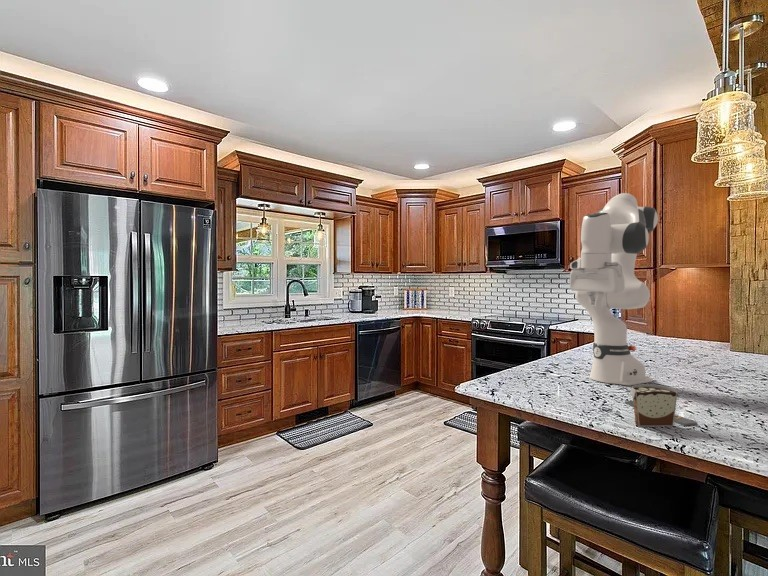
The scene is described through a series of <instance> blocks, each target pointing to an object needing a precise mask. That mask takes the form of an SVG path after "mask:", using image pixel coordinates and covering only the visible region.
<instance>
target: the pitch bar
mask: <svg viewBox="0 0 768 576" xmlns="http://www.w3.org/2000/svg"><path fill="white" fill-rule="evenodd" d="M625 403H626V404H625ZM624 404H625V405H628V404H629V406H631V407H633V406H634V402H633V400H625V401H624ZM674 423H675V424H678V423H679V425H680V426H684V427H686V426H696V425H695V424H697V425H698V422H697V421H695V420H692V419H689V418H686V417H684V416H681V415H678V414H676V413H675V417H674Z"/></svg>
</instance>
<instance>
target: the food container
mask: <svg viewBox="0 0 768 576" xmlns="http://www.w3.org/2000/svg"><path fill="white" fill-rule="evenodd" d="M631 387H632V388H631V389H630V393H629V395H630V397H632V401H633V402H634V407H633V411H634V412H633V413H634V422H635V425H636V426H637V427H646V428H647V427H674V424H675V422H674V417H675V414H676V409H677V399H678V398H680V393H679V391H678V389H677V388H674V387H669V386H665V385H660V384H659V385H658V384H647V383H646V384H645V383H641V384H635V385H632V386H631Z"/></svg>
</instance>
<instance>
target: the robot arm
mask: <svg viewBox="0 0 768 576" xmlns="http://www.w3.org/2000/svg"><path fill="white" fill-rule="evenodd" d="M658 216H659V215H658V213H657V210H656V208H654V207H652V206H647V205H646V206H639V205H638V201H637V198H636V197H635V196H634V195H632V194H631V193H629V192H622V193H619V194H617V195H614V196H613V197H612V198H611V199H609V200H608V202H607V203H606V204H605V205H604V207H603V208H600V210H598V211H597V212H596V213H595V212H594V213H589V214H586V215H584V216H583V218H582V223H581V229H580V231H581V232H580V243H581V251H580V257H579V258H577V259H576V260H574V261H572V262H570V264H569V268H570V269H571V271H570V273H569V287H570V290H571V291H573V292H574V291H575V293H574V295H575V299H576V301H577V302H578V304H579V305H580V306H582V307H583V308H584V309H585V311H587V312H588V314H589V315H590V318H591V320H592V324H593V330H594V331H593V334H594V335H593V336H594V337H593V338H594V341H593V343H592V352H593V358H592V366H591V370H590V375H589V377H588V378H589V379H590V380H593V381H597V382H601V383H604V384H605V383H606V384H612V385H613V384H614V385H615V384H616V385H621V386H623V385H624V386H634V385H639V384H645V383H646V384H647V383H652V382H653V381H654V378H652V377H650V376H647V375H646V368H645V365H644V364H643V363H642V362H641V361H640V360H638V359H637V358H636V357H635V356H633V355H632V354H631V352H636V350H637V347H636V345H632V344H631V345H628V344H627V342H628V339H627V338H628V337H627V335H628V329H627V328H628V327H627V325H626V323H625V322H624V321H623V319H622V320H621V319H619V318H618V317H616V316H614V315H613V313H612V311H611V309H617V310H634V309H635V310H636V309H641V308H644V307H645V306H646V305H647V304H648V303H649V301H650V299H651V293H650V291H651V290H650V289H649V287H648V285H646V284H645V283H644V282H643V281H641V280H639V279H638V277H636V274H635V265H636V260H637V255H639V254H640V253H642V252H643V251H644V250H645V249H646V248H647V247H648V244H649V241H650V239H649V238H650V237H649V236H650V234H651V233H652V232H653V231H654V230H655V228H656V226H657V225H658V222H659V221H658V220H659V217H658Z"/></svg>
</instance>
